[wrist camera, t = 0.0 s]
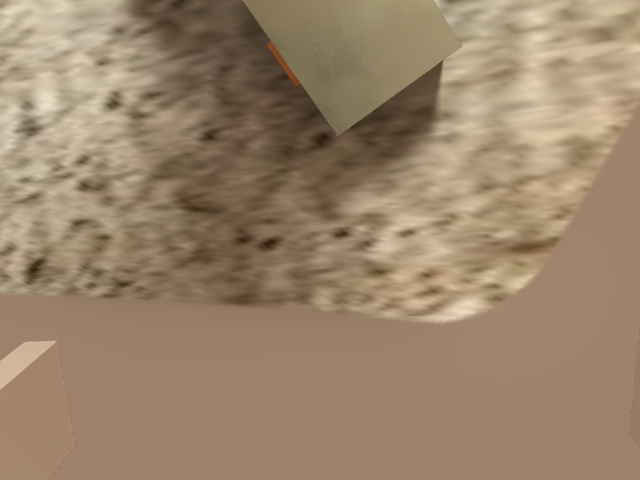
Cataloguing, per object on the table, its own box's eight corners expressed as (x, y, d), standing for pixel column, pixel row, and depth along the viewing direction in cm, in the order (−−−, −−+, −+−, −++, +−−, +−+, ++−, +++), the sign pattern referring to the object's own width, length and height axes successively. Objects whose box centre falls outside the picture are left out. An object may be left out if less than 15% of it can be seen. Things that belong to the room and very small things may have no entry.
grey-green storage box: (241, 2, 38) (223, -16, 32) (353, -89, 37) (355, -124, 31) (333, 134, 40) (332, 140, 34) (444, 54, 39) (462, 46, 33)
